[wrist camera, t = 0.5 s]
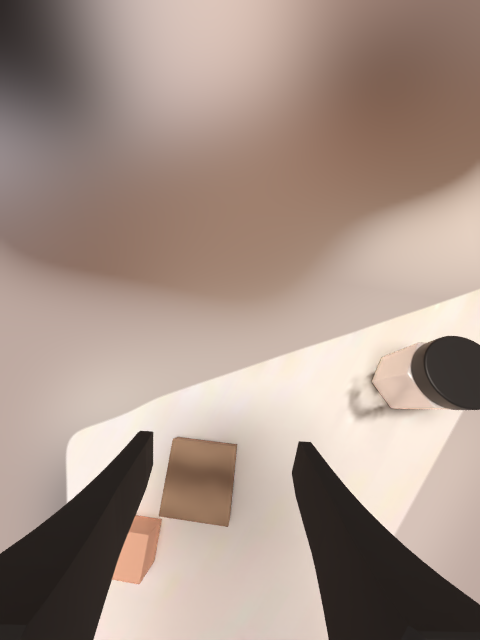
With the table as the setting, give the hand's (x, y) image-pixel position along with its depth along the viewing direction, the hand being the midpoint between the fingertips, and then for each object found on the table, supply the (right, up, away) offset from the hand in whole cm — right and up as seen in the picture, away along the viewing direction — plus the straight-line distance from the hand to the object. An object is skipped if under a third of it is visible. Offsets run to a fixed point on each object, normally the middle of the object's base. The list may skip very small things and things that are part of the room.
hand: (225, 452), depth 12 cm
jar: (+26, -3, +26) cm, 37 cm away
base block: (-5, -16, +23) cm, 28 cm away
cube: (-12, -23, +21) cm, 33 cm away
